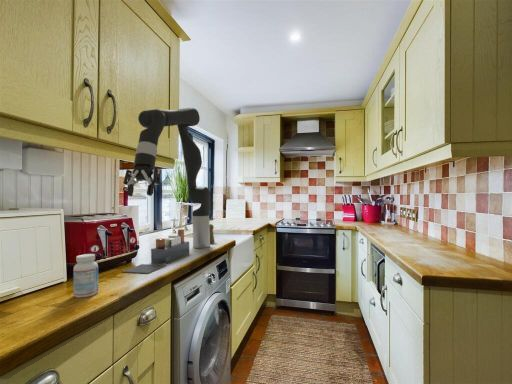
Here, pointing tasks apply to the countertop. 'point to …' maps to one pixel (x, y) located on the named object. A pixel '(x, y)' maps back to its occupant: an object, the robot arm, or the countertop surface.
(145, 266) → the rubber mat
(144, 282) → the countertop surface
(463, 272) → the countertop surface
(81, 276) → the pill bottle
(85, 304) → the countertop surface
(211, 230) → the cork
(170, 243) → the lever cap
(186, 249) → the bench plane
